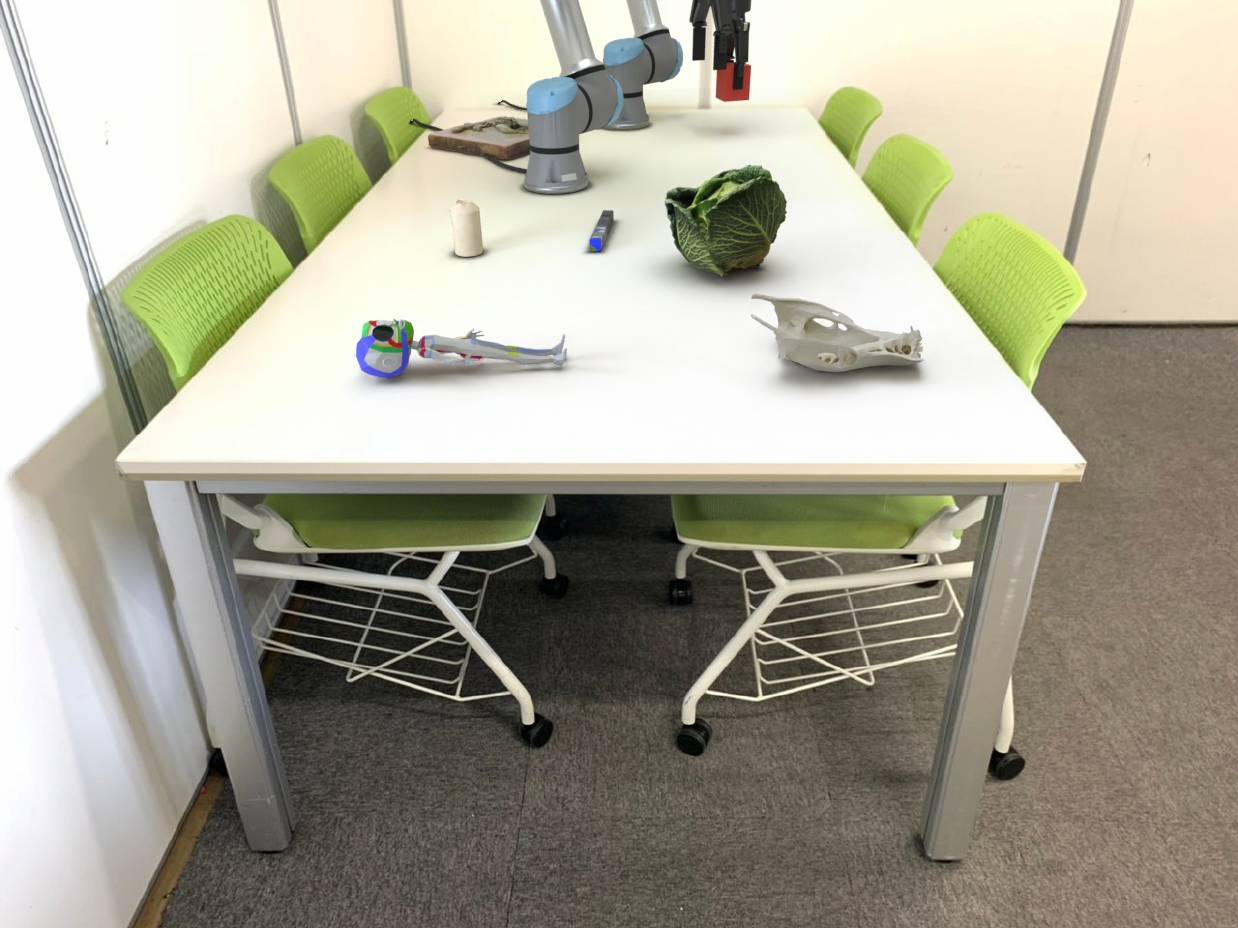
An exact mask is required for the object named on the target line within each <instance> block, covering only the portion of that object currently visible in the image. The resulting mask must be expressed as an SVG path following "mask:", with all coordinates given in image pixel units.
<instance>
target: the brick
mask: <svg viewBox="0 0 1238 928" xmlns="http://www.w3.org/2000/svg"><path fill="white" fill-rule="evenodd" d="M734 62H735V61H734ZM734 62H732V63H727V69H726V70H716V77H715V79H716V81H715V98H716V99H717V100H719V101H721V102H724V103H729V102H742V101H750V94H751V93H750V92H751V77H752V76H751V75H752V65H751V64H749V63H747V62H746V63H745V64H744V77H743V89H739V90H733V75H734V64H733V63H734Z"/></svg>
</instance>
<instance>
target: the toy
mask: <svg viewBox="0 0 1238 928" xmlns="http://www.w3.org/2000/svg"><path fill="white" fill-rule="evenodd" d="M474 331H475V328H472V329H471V330H469V331H468V332H467V333H466V334H465V335H463V336H458V337H449V336H448V337H447V336H442V335H439V334H428V335H423V336H421V338H420V339H419V341H417V340H414V336H415V329H414V326H413V324H412V322H410V321H408V320H407V319H399V320H397V319H395V318H392V320H387V319H379V320H368V321H367V322H365V323H364V324H362V326H361V329H360V331H359V333H358V334H357V338H356V340H355V342H354V354H353V355H354V357H355V359H356V362H357V364H358V366H359V369H360V370H361V372H364V373H366V374H367V375H370V376H373V377H377V378H382V379H383V378H384V379H392V378H394V377H396V376H398V375H400V374H401V375H402V374H403V372H404V371H405V370H406V368H407V367H408V366H409V364H410V357H411V355H412V350H415V351H417V353H418V356H419V357H421V358H422V359H430V360H434V361H438V362H442V363H444V364H449V365H458V364H459V365H461V364H465V365H471V366H477V367H479V368H480V367H481V366H482V365H483V363H482V362H478V361H480V360H482V359H487V360H488V359H489V360H503V361H509V362H514V363H517V364H520V365H528V366H529V365H542V364H550V363H553V364H555V365H557V366H559V367H562V366H563V364H564V362H565V361H566V360H567V357H568V355H567V353H568V348H566V347H565V348H564V345H565V340H566V334H565V333H563V334H562V338H561V340H560V341H559V343H558V344H556V345H555V346H554V347H552V348H533V347H532V348H531V347H523V346H518V345H517V346H516V345H504V344H501V343H498V342H494V341H488V340H482V339H478V338H479V337H480V338H481V337H485V334H480V333H482V332H483V331H482V330H479V331H476V332H474ZM563 349H564V350H563ZM453 353H455V354H457V355H459V357H458V356H455V355H448V354H453ZM445 354H447V355H445Z"/></svg>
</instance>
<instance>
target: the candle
mask: <svg viewBox="0 0 1238 928" xmlns="http://www.w3.org/2000/svg"><path fill="white" fill-rule="evenodd" d="M449 212H450V213H449V214H450V222H451V228H452V231H451V232H452V239H453V247H454V253H455V255H457V256H459V257H465V258H466V257H467V258H468V257H475V256H479V255H481V254H483V252H484V242H483V234H482V233H483V232H482V231H483V230H482V222H481V221H482V220H481V212H480V207H479V205H478V204H476V203H475V202H474V201H472V200H470V201H468V200H465V199H464V200H462V199H457V200H456V201H455V202H454V203H453V205H452V206H451V207H450V209H449Z"/></svg>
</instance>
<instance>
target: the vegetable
mask: <svg viewBox="0 0 1238 928" xmlns="http://www.w3.org/2000/svg"><path fill="white" fill-rule="evenodd" d="M665 196H666V197H665V199H664V205H665V208H666V209H665V210H666V218H667V219H668V221H669V222H670V224H669V228H670V231H671V236H672V238H673V239H674V240H673V243H674V245H675V247H676V249H677V250H678V252H680V255H681V256H682V257H683V258H684V259H685V261H686V262H687V263H688V264H689V263H691V264H692V265H693V266H694V267H695V268H696V269H699V270H700V271H702V272H704V273H708V274H714V275H715V274H716V275H718V276H719V277H721V278H723V277H724V276H730V274H729V273H728V272H729V271H732V270H734V269H740V268H742V269H747V268H748V267H754V268H756V267H757V268H760V266H761V264H763V263H764V261H765V258H766V257H767V256H768V255H769V253H770V250H771V245H772V244H774V243H775V241H776V239H777V236H778V235H777V234H778V231H779V229H780V227H781V225H782V224H783V223H784V222H786V218H787V216H786V214H787V213H788V211H787V203H788V201H787V199H786V196H785V194H784V192H783V191H782V189H781V188H780V184H779V183H778V181H777V180H774V179H773V176H772V173H771V171H770V170H768V169H765V168H763V165H755V164H754V165H751V164H748V165H745V166H743V167H742V168H732V169H729V170H723V171H721V172H720V173H718V174H716V175H714V176H713V177H711V178H709V179H707V180H704V181H703V182H702V184H701V185H700V186H698V187H684V186H677V187H674V188H672V189H670V190H668V191H667V192H666V194H665Z"/></svg>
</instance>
